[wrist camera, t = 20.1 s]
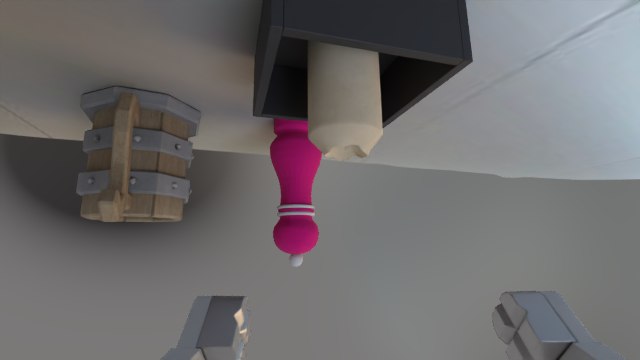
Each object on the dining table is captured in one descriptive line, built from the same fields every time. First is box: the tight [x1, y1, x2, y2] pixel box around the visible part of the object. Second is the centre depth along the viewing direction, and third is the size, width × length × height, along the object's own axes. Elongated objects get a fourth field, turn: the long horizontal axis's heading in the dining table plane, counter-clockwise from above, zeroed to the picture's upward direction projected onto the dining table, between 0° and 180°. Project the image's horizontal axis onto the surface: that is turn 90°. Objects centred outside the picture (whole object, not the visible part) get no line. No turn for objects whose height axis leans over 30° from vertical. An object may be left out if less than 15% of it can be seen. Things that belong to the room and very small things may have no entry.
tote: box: [253, 0, 473, 128], centre depth 25 cm, size 13×12×6 cm
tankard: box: [76, 86, 200, 222], centre depth 36 cm, size 20×13×15 cm, turn 156°
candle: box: [308, 40, 383, 161], centre depth 24 cm, size 6×6×10 cm
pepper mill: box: [270, 118, 322, 266], centre depth 42 cm, size 7×7×20 cm
